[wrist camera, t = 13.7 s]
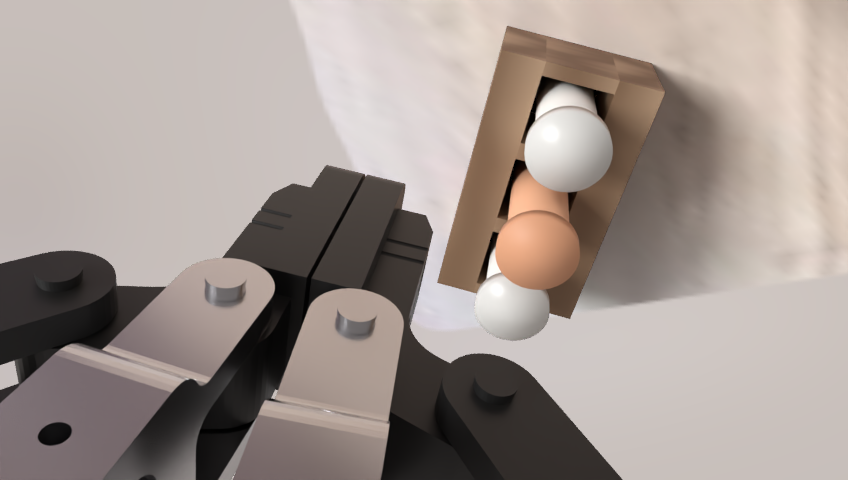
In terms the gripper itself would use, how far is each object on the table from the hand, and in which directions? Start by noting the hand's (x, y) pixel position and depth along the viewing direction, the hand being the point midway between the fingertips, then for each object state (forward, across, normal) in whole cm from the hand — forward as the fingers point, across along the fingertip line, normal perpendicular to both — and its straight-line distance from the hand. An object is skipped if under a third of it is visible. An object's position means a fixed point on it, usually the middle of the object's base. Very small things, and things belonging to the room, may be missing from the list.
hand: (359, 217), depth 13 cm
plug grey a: (+26, -6, +13) cm, 30 cm away
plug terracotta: (+24, -6, +9) cm, 26 cm away
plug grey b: (+26, -6, +4) cm, 27 cm away
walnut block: (+26, -6, +9) cm, 28 cm away
